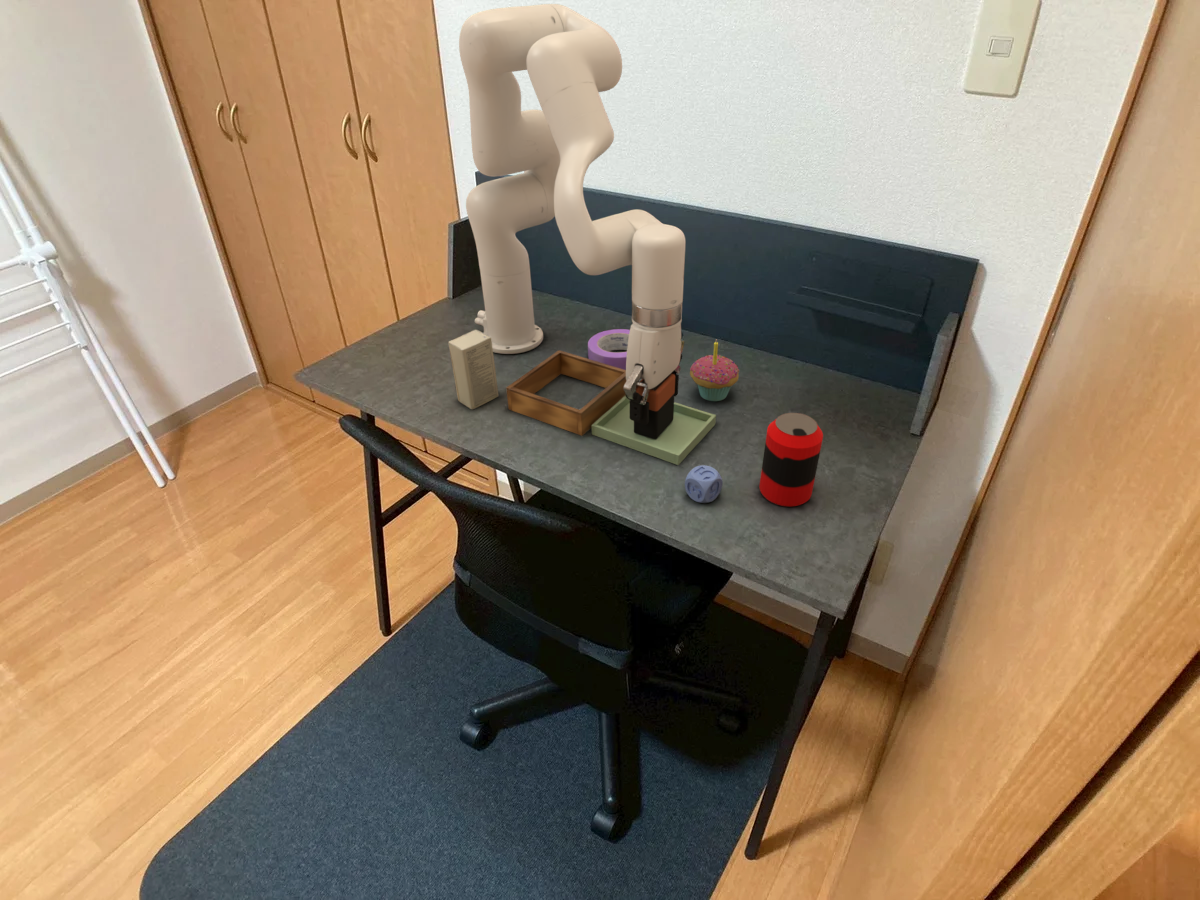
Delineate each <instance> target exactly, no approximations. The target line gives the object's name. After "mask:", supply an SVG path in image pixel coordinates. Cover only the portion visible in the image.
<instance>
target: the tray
mask: <svg viewBox="0 0 1200 900" xmlns="http://www.w3.org/2000/svg"><path fill="white" fill-rule="evenodd" d="M716 420H717V414H714V413H711V412H708V411H704V410H701V409H698V408H696V407H695V408H694V407H691V406H687V405H685V404H681V403H679V402H676V401H674V416H673V421H672V422H671V423H670V424H669V426H668V427H667V428H666V429H665V430H664V431H663V432H662V433H661V434H660V436H659V437H658V438H657V439H652V438H649V437H646V436H642V435H639V434H636V433H634V421H633V420H631V419H630V401H629V400H628V398H626V395H625V396H624V397H623V398H622V399H621V400H620V401H619V402H617V403H616V404H615V405H614V406H613V407H612V408H611V409H609V410H608V411H607V412H606V413H605V414H604V415H603V416H601V417H600V418H599V419H598V420H597V421H596V422H595V423H593V424H592V428H591V435H592V436H595V437H598V438H600V439H603V440H606V441H609V442H612V443H615V444H616V445H620V446H624V447H626V448H628V449H632V450H634V451H637V452H640V453H642V454H646V455H649V456H651V457H653V458H656V459H659V460H663V461H665V462H668V463H671V464H674V465H676V466H679V465H680V464H681V463H682V462H683V461H684V460H685V459H686V458H687V456H689V454H690V453H691V452H692V451H693V450H694V449H695V448H696V447H697V445H698V444H699V443H700V442H701V441H702V440H703V439H704V438H705V437H706V435H707V434H708V433H709V432H710V431H711V430H712V429H713V428H714V427H715V426H716Z"/></svg>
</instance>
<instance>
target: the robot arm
mask: <svg viewBox="0 0 1200 900" xmlns="http://www.w3.org/2000/svg"><path fill="white" fill-rule="evenodd" d="M458 39H459V40H458V50H459V57H460V61H461V66H462V70H463V71H464V72H463V73H464V76H465V80H466V83H467V87H468V89H467V90H468V98H469V99H468V100H469V101H468V102H469V120H470V136H471V152H472V157H473V158H472V159H473V162H474V166H475V167H476V169H477V171H478V172H480V174H482V175H483V176H487V177H493V178H496V177H500V178H496V179H491V180H488V181H485V182H481V183H480V184H478V185H476V186H474V187H473V188H471V190H470V191H469V192H468V194H467V197H466V199H465V200H466V201H465V209H466V214H467V217H468V221H469V224H470V227H471V230H472V231H471V232H472V234H473V238H474V242H475V246H476V252H477V259H478V260H477V261H478V266H479V267H478V268H479V273H480V281H481V282H480V283H481V288H482V297H483V304H484V310H481V309H480V310H478V312H477V317H475V319H474V324H475V325H477V326H482V327H483V332H482V333H484V334H486V335H488V336H490V337H491V341H492V349H493V353H495V354H501V355H514V354H515V355H516V354H521V353H526V352H529V351H532V350H534V349H536V348H537V347H539V345H541V344H542V342H543V341H544V332H543V329H542V328H541V327H539V326H538V325H537V324H535V314H534V313H535V312H534V300H533V289H532V277H531V265H530V258H529V253H528V250H527V249H526V247H525V245H524V244H523V243H521V241H520V240H519V239H518V237H517V236H516V234H517V233H518V232H520V231H523V230H525V229H529V228H533V227H536V226H539V225H543V224H546V223H549V222H550V221H552V220H554V218H555V222H556V226H557V228H558V231H559V233H560V236H561V238H562V240H563V243H564V246H565V248H566V250H567V253H568V255H569V256H570V258H571V260H572V262H573V264H574V265H575V266H576V267H577V269H578V270H579V271H581V272H582V273H583V274H585V275H588V276H599V275H603V274H606V273H609V272H614V271H616V270H618V269H621V268H624V267H626V266H631V322H632V324H631V325H630V328H629V330H630V333H629V339H628V346H627V358H626V383H625V384H624V387H623V389H624V391H625V394H626V398H628V400H629V401H630V419H631V420H633V421H636V422H638V423H641V424H644V425H646V424H647V423H648V422H649V402H646V401H647V399H648V396H649V393H650V390H651V389H652V388H654V387H656V386H657V385H658V384H660V383H661V382H662V381H663V380H664V379H665V378H666V377H667V376H668V375H670V374H674V375H675V394H674V397H677V396H678V394H679V379H680V372H681V366H680V364H681V361H682V359H683V354H682V353H683V352H684V351H683V350H684V347H685V340H682V321H683V319H682V318H683V303H684V302H683V301H684V300H683V299H684V280H685V259H686V236H685V234H684V232H683V230H682V229H680V228H678V227H677V226H674V225H671V224H665V223H662V222H661V221H660V220H659V219H657V218H656V217H655V216H654V215H652V214H651V213H650V212H648V211H646V210H643V209H639V208H638V209H637V208H636V209H630V210H627V211H623V212H620V213H615V214H611V215H608V216H605V217H601V218H598V219H595V220H593V219H592V218H591V216H590V213H589V211H588V208H587V205H586V202H585V196H584V181H585V177H586V173H587V171H588V169H589V167H590V166H591V164H592V163H593V162H594V161H596V160H597V159H598V158H600V157H601V156H602V155H603V154H604V153H605V152H606V151H607V150H609V148H610V147H611V145H612V144H613V142H614V140H615V132H614V131H615V130H614V129H613V126H612V124H611V121H610V118H609V116H608V113H607V111H606V109H605V106H604V104H603V100H602V99H601V95H600V93H602V92H603V93H604V92H608V91H610V90H612V89H613V88H615V87H616V86H617V85H618V83H619V82H620V80H621V77H622V74H623V59H622V54H621V51H620V47H619V45H618V43H617V42H616V40H615V39H614V38H613V36H612V35H611V34H610V32H608V31H607V30H606V29H605V28H604V27H602V26H601V25H600V24H598V23H596V22H594V21H592V20H591V19H589V18H588V17H586V16H584V15H582V14H581V13H579V12H577V11H575V10H573V9H572V8H569V7H568V6H566V5H563V4H560V3H542V4H533V5H532V4H531V5H519V6H507V7H498V8H490V9H486V10H485V9H484V10H481V11H478V12H475V13H473V14H472V15H470V16H468V17H467V18H466V19H465V20H464V22H463V24H462V26H461V27H460V31H459V38H458ZM521 71H526V72H527V74H528V76H529V81H530V82H531V85H532V88H533V90H534V93H535V95H536V98H537V101H538V103H539V105H540V109H526V110H522V91H521V87H520V84H519V82H518V80H517V78H516V76H515V75H514V74H515V73H513V72H521ZM521 172H523V173H521ZM513 174H514V175H513ZM508 175H510V176H508ZM503 176H504V177H503ZM642 379H645V382H646V383H647V384H645V383H642V382H640V381H641V380H642ZM638 386H640V387H643V388H644V391H643V394H642V396H641V395H640V394H639V393H637V392H636V391H637V388H638Z"/></svg>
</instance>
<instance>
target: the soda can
mask: <svg viewBox="0 0 1200 900" xmlns="http://www.w3.org/2000/svg"><path fill="white" fill-rule="evenodd" d="M823 439H824V433H823V430H822V429H821V428H820V426H819V425H818V423H817V421H816V420H815V419H814V418H812V417H811V416H809V415H806V414H804V413H799V412H798V413H797V412H788V413H786V412H785V413H783V414H781V415H779V416H777V418H775V419H774V420H773V421H771V422H770V423H769V424H768V426H767V429H766V436H765V442H764V450H763V458H762V464H761V471H760V479H759V485H758V487H759V491H760V493H761V494H762V496H763V497H764V498H765V499H766V500H767V501H769V503H772V504H774V505H776V506H781V507H787V508H788V507H789V508H790V507H797V506H801V505H803V504H806V503H807V502H808V501H809V500H810V499H811V497H812V494H813V490H814V485H815V480H816V474H817V471H818V465H819V459H820V454H821V451H822V445H823Z"/></svg>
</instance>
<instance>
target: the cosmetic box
mask: <svg viewBox="0 0 1200 900" xmlns="http://www.w3.org/2000/svg"><path fill="white" fill-rule="evenodd" d="M447 342H448V348H449V349H448V350H449V355H450V360H451V365H452V372H453V376H454V377H453V378H454V383H455V389H456V395H457V400H458V402H459V403H461V404H462V405H464V406H465V407H467V408H469V409H470V410H474V409H477V408H479V407H480V406H483V405H485V404H487V403H488V402H491V401H493V400H495V399H497V398H498V397H499V395H500V394H499V387H498V380H497V372H496V364H495V357H494V352H493V349H492V341H491V337H490V336H488V335H486V334H484V333H483V332H482V331H480V330H478V329H473V330H471V331H469V332H466V333H464V334H462V335H460V336H458V337H456V338H454V339H451V340H449V341H447Z"/></svg>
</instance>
